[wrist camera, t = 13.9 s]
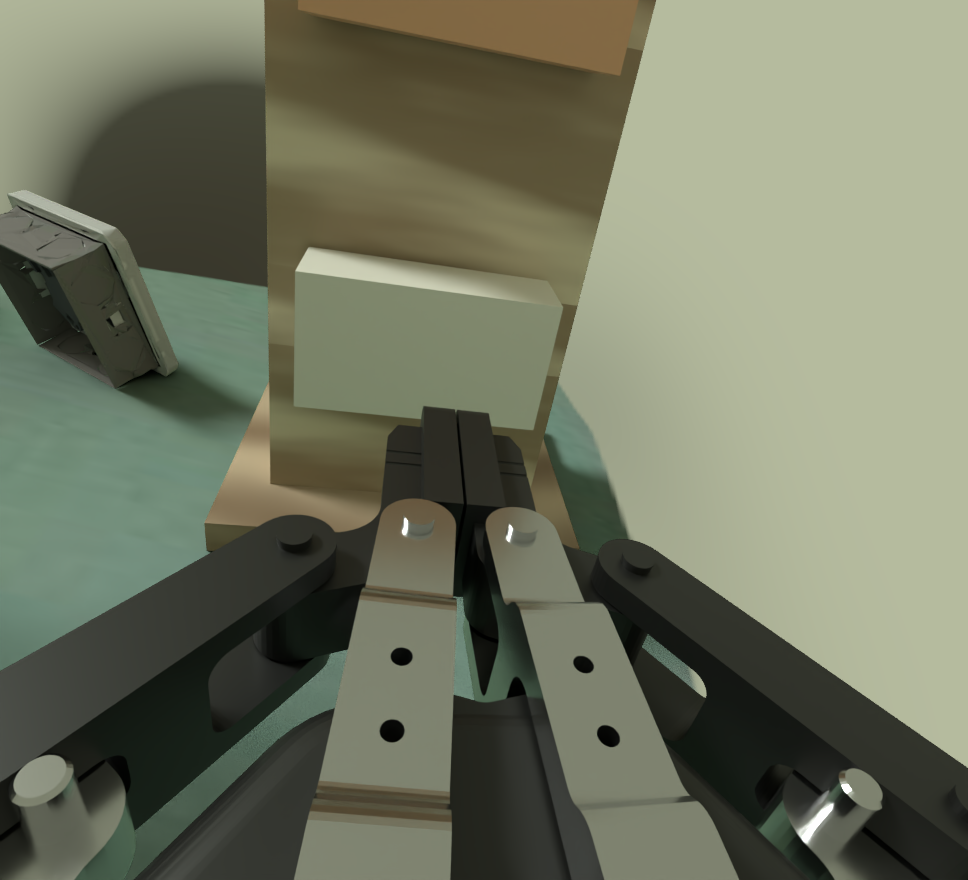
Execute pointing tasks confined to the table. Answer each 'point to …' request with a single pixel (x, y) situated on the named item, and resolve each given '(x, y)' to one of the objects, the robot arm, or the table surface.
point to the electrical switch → (80, 291)
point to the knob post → (413, 225)
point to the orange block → (503, 26)
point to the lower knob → (420, 338)
